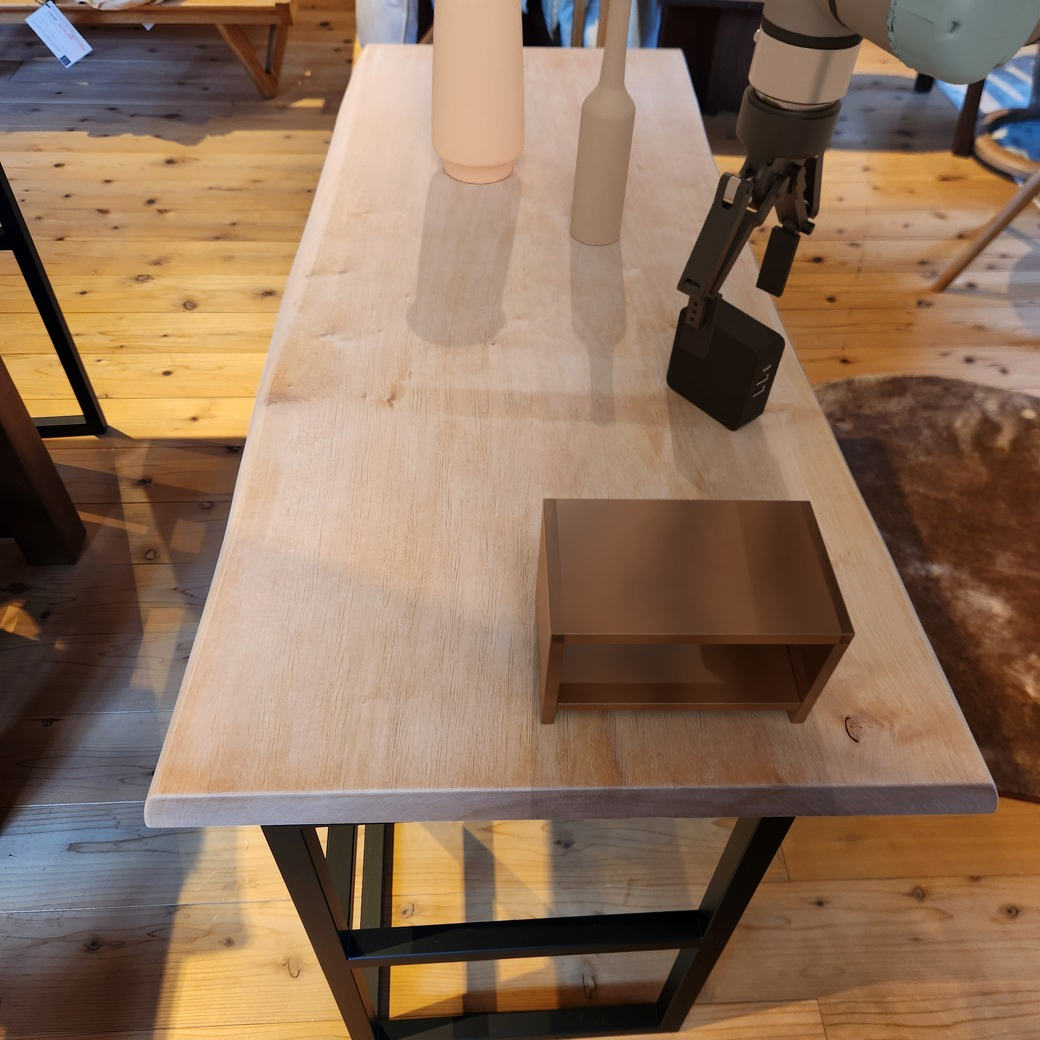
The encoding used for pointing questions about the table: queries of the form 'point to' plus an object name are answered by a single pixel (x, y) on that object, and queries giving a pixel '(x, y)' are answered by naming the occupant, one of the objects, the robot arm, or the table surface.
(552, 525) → the shelf
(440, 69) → the vase
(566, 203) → the table surface
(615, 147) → the bottle
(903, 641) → the table surface
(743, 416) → the electronic device
